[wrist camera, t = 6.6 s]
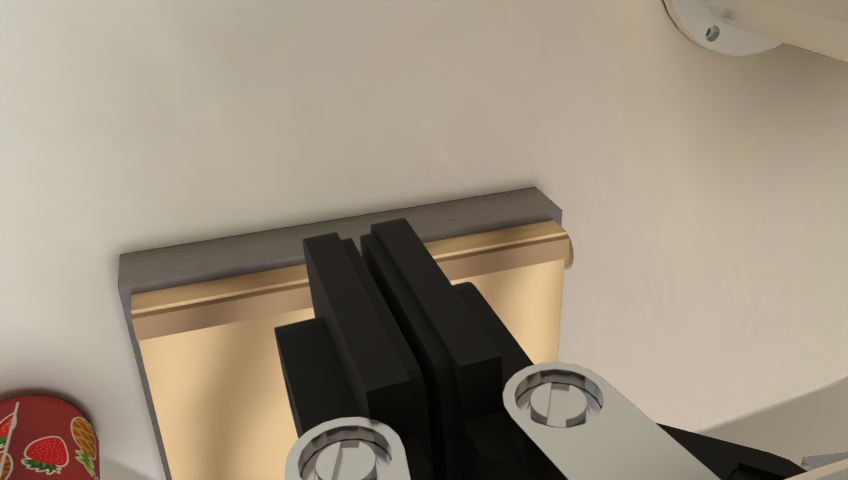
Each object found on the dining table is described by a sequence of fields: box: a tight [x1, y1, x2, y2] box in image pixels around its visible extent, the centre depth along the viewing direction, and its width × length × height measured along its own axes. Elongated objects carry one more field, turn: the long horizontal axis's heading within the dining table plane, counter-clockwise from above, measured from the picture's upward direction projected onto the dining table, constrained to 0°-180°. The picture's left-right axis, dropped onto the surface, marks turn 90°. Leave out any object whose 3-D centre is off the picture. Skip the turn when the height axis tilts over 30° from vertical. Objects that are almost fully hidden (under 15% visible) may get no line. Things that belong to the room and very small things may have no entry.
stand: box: [118, 187, 573, 480], centre depth 44 cm, size 24×17×3 cm
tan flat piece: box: [131, 220, 570, 480], centre depth 41 cm, size 22×16×4 cm
